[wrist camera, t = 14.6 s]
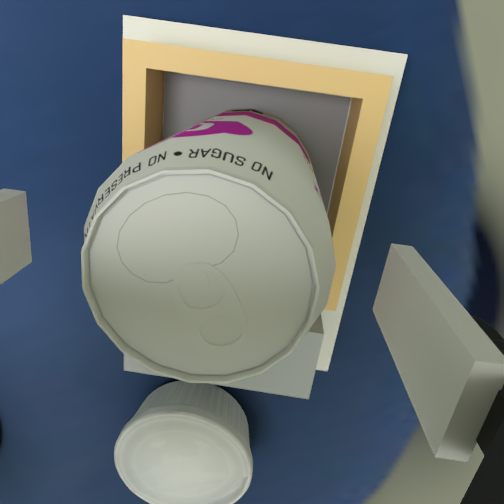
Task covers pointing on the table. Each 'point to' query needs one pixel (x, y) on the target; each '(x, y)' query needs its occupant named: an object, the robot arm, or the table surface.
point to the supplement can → (210, 250)
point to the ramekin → (186, 447)
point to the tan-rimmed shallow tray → (287, 110)
